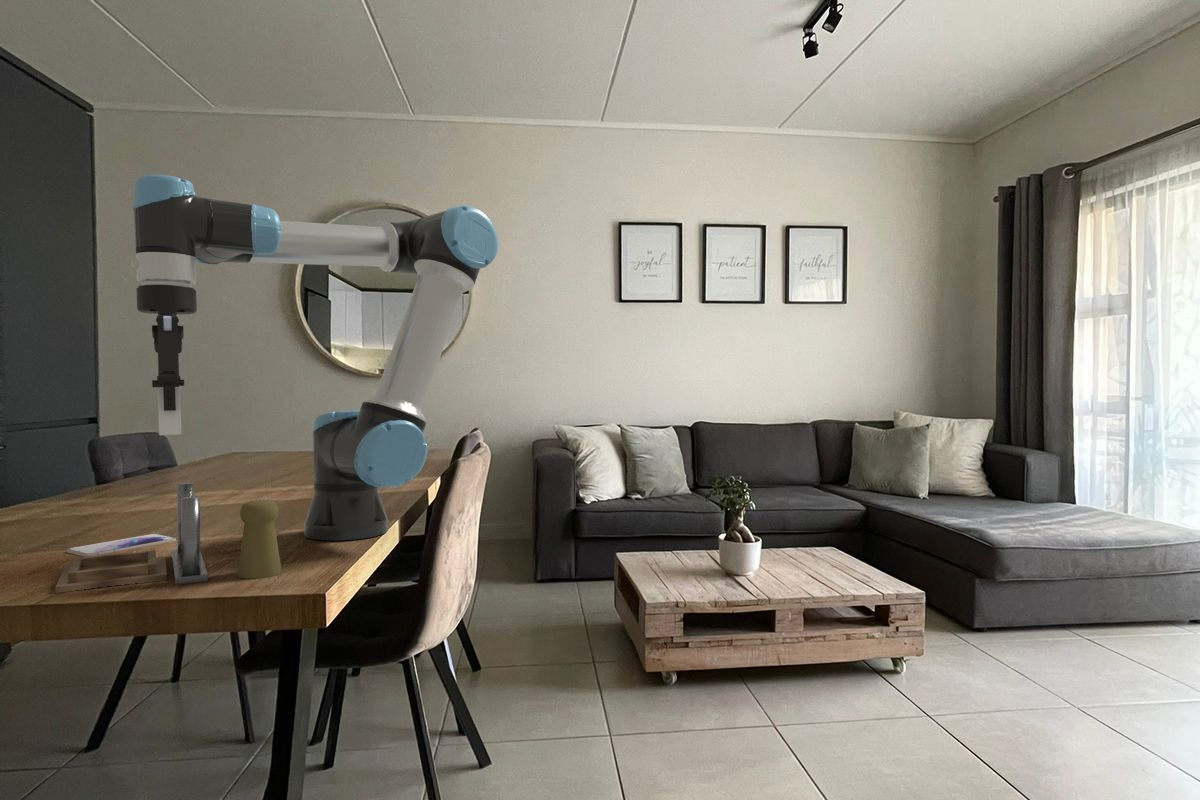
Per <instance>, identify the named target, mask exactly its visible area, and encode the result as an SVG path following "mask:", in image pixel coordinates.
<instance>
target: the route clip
mask: <svg viewBox="0 0 1200 800" xmlns="http://www.w3.org/2000/svg"><path fill="white" fill-rule="evenodd" d="M176 504H177V506H176V507H177V508H176V509H177V510H176V511H177V512H176V513H177V514H176V516H177V517H176V518H177V519H176V520H177V521H176V522H177V523H176V524H177V525H176V526H177V528H176V529H177V532H176V534H177V539H176V541H177V549H171V561H172V568H173V569H172V570H173V575H174V584H176V585H175V586H177V585H178V584H179V585H186V584H194V583H195V584H196V583H203V582H208V581H209V580H208V571H207V568H206V565H205V562H204V558H203V555H202V552H201V497H200V496H195V483H194V482H179V483H177V484H176Z"/></svg>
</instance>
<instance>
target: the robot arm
mask: <svg viewBox="0 0 1200 800" xmlns="http://www.w3.org/2000/svg"><path fill="white" fill-rule="evenodd" d="M133 193H134V195H133V196H134V199H133V206H132V211H133V217H134V219H133V220H134V239H135V240H134V241H135V242H134V243H135V258H136V260H131V262H130V267H132V268H135V269H136V272H135V274H136V281H137V282H138V283H139V284H141V285H138V286H137V287H136V288H135V289H136V290H135V291H136V309H137V311H139V312H140V313H143V314H156V318H155V322H156V323H157V324H152V325H151V335H152V338H153V341H154V342H153V347H154V351H155V352H156V353H157V369H158V371H157V372H158V373H157V374H158V375H157V376H156V379H152V380H151V385H152V387H151V388H157V410H158V411H157V412H158V415H157V417H158V436H171V435H172V436H173V435H174V436H175V435H183V434H182V433H183V432H182V403H181V402H182V398H181V395H182V394H181V386H182V387H185V379H181V376H180V364H179V362H180V361H179V360H180V359H179V357H180V356H179V355H180V354H181V353H182V350H183V339H184V332H185V331H184V325H179V323H180V321H179V320H180V319H179V316H177V315H193V314H195V313H196V312H197V311H198V308H197V305H198V304H197V301H198V300H197V290H195V288H193V286H195V285H196V284H197V263H198V264H201V265H214V266H215V265H219V264H221V263H231V264H233V263H237V264H241V263H242V264H244V263H245V264H246V263H247V264H249V263H250V264H251V263H252V264H255V263H256V264H279V265H281V264H283V265H284V264H285V265H286V264H287V265H317V266H319V265H320V266H351V267H352V266H353V267H354V266H355V267H378V268H379V269H381V271H383V272H385V273H401V274H403V273H404V274H410V275H411V274H412V275H418V277H417V280H416V281H415V282H416V283H415V285H414V288H413V291H412V293H411V297H410V299H409V302H408V304H407V308H406V310H405V313H404V315H403V319H402V321H401V324H400V326H399V328H398V332H397V335H396V337H395V340H394V343H393V346H392V348H391V350H390V353H389V357H388V359H387V361H386V364H385V367H384V369H383V372H382V375H381V378H380V381H379V383H378V386H377V389H376V391H375V394H374V395H373V396H371V397H369V398H366V399H365V400H363V401H362V404H361V407H360V409H358V410H357V409H356V410H355V409H354V410H353V409H352V410H341V411H340V410H339V411H331V412H323V413H320V414H319V415H317V416H316V417H315V419H314V421H313V422H314V423H313V429H312V438H313V496H312V499H311V502H310V504H309V509H308V511H307V514H306V517H305V520H304V523H303V535H304V537H306V538H308V539H311V540H316V541H317V540H319V541H348V540H349V541H350V540H361V539H367V538H373V537H378V536H380V535H384V534H387V532H388V531H389V522H388V521H389V520H388V516H387V513H386V509H385V507H384V504H383V500H382V498H381V496H380V491H379V488H395V487H399V486H403V485H405V484H407V483H409V482H410V481H412V480H413V479H415V478H416V476H417V475H418V474H420V472H421V470H422V469H423V467H424V464H425V462H426V461H427V457H428V444H427V442H426V440H425V439H426V436H425V435H424V430H425V428H426V424H427V419H426V417H425V415H424V413H423V407H424V405H425V402H426V400H427V396H428V393H429V390H430V387H431V384H432V382H433V379H434V376H435V373H436V371H437V367H438V365H439V361H440V360H441V355H442V352H443V350H444V348H445V345H446V342H447V339H448V337H449V333H450V330H451V327H452V325H453V321H454V320H455V316H456V314H457V310H458V307H459V304H460V303H461V300H462V296H463V294H464V293H466V292H468V291H470V290H471V291H472V289H474V287H475V284H476V281H477V278H478V275H479V272H480V270H481V269H483V268H486V267H488V266H489V264H491V263H492V262H493V261H494V260H495V258H496V256H497V253H498V249H499V237H498V233H497V231H496V230H495V228H494V224H493V223H492V220H491V219H490V218H489V217H488V215H486V214H485V213H484V212H483V211H482V210H480V209H478V208H476V207H475V206H471V205H461V206H452V207H449V208H447V209H446V210H443V211H440V212H436V213H433V214H430V215H426V216H423V217H420V218H415V219H412V220H408V221H402V222H389V221H384V222H381V223H380V225H379V226H368V225H367V226H366V225H355V224H353V225H351V224H340V223H339V224H337V223H325V222H323V223H322V222H308V221H307V222H306V221H293V220H292V221H291V220H280V219H281V218H280V217H279V215H278V213H277V212H276V211H275V210H274V209H273V208H270V207H265V206H260V205H258V204H254V203H252V204H250V203H249V204H248V203H242V202H241V203H239V202H235V201H226V200H218V199H212V198H206V197H202V196H198V195H196V192H195V190H194V185H193V183H192V182H191V181H189V180H187V179H186V178H180V177H177V176H174V175H173V176H172V175H168V174H146V175H141V176H140V177H139V178H137V179H136V180H135V182H134V192H133ZM157 314H158V315H157Z"/></svg>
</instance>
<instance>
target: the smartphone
mask: <svg viewBox="0 0 1200 800" xmlns="http://www.w3.org/2000/svg"><path fill="white" fill-rule="evenodd" d="M176 541H177V539H176V537H173V536H168V535H163V534H159V533H150V534H145V535H138V536H133V537H132V536H131V537H126V538H121V539H115V540H110V541H103V542H97V543H92V544H87V545H80V546H74V547H69V548H67V549H66V553H67V554H71V555H76V556H79V557H90V556H101V555H108V554H112V553H113V554H114V553H117V552H123V551H128V550H134V549H138V548H139V549H141V548H143V547H144V548H145V547H148V546H149V547H150V546H154V545H155V546H156V545H160V544H166V543H171V542H176Z"/></svg>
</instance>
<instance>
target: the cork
mask: <svg viewBox="0 0 1200 800" xmlns="http://www.w3.org/2000/svg"><path fill="white" fill-rule="evenodd" d="M278 515H279V507H278V504H277V502H275V501H273V500H271V499H270V500H269V499H254V500H249V501H246V502H244V503H243V505H241V507H240V511H239V516H240V519H241V521H242V522H243V524H244V525H243V532H242V537H241V538H242V540H241V546H240V553H239V561H238V568H237V577H238V578H241V579H248V580H249V579H250V580H251V579H252V580H255V579H264V578H270V577H275V576H278V575H279V574H281V573H282V572H283V571H282V565H281V558H280V552H279V544H278V538H277V537H278V536H277V530H276V522H275V521H276V519H277V518H278ZM281 571H282V572H281Z"/></svg>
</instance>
